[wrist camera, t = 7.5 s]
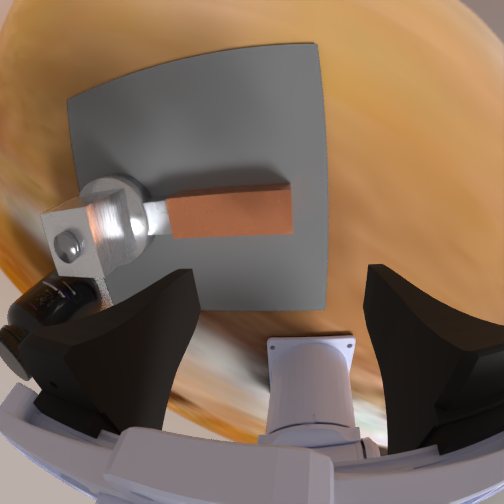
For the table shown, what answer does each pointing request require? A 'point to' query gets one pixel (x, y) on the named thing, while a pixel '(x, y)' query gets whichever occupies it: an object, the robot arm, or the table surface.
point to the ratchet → (201, 210)
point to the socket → (90, 233)
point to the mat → (219, 167)
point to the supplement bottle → (46, 312)
